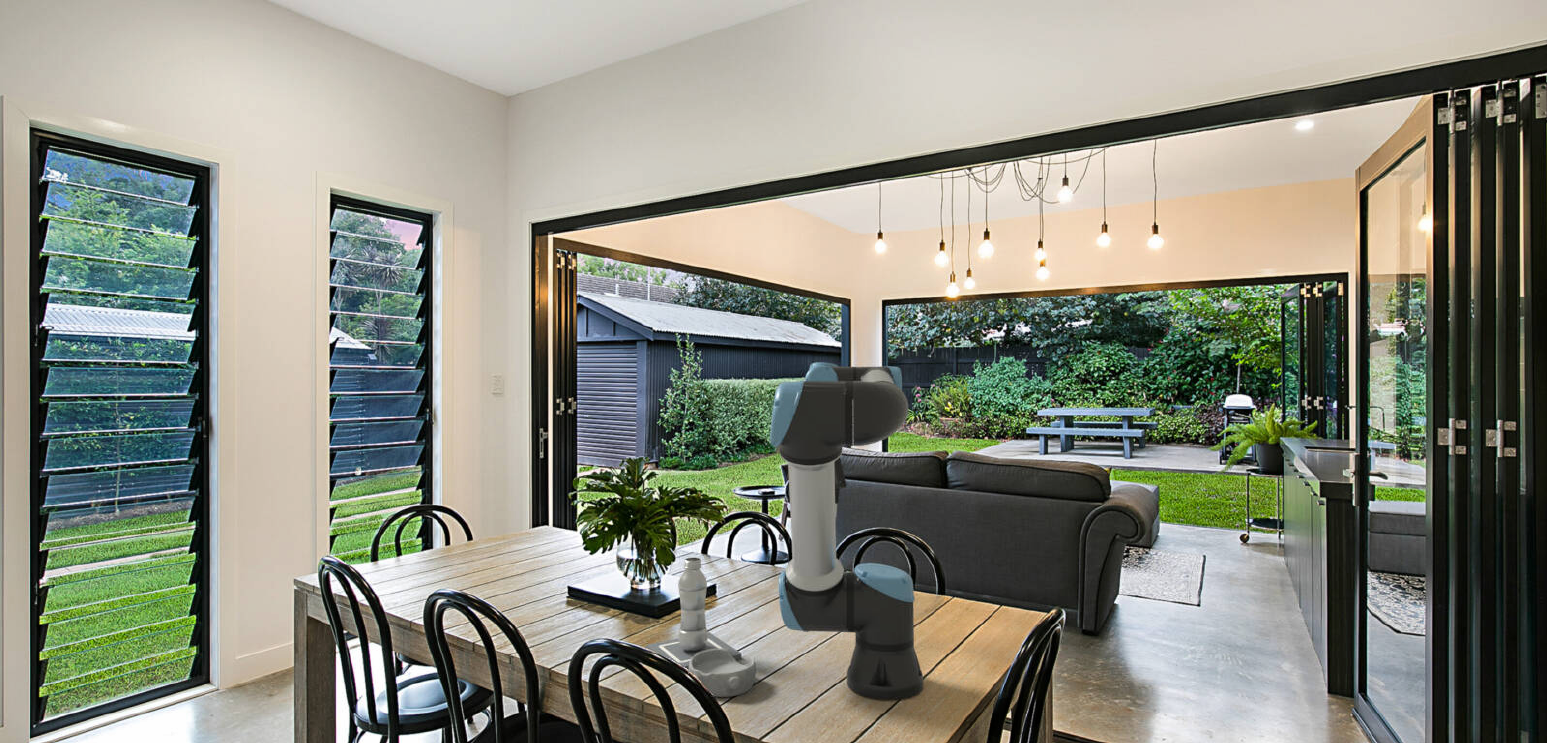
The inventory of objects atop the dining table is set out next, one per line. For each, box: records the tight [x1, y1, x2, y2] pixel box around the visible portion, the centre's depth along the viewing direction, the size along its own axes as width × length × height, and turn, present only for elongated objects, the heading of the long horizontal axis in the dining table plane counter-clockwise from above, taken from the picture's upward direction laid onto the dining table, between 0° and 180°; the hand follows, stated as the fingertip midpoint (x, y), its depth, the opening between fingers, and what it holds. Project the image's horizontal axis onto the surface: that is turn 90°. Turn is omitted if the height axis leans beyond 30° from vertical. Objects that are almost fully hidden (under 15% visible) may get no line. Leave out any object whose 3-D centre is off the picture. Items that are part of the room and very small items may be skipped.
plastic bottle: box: [677, 557, 708, 651], centre depth 164 cm, size 6×7×20 cm
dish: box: [688, 649, 757, 698], centre depth 147 cm, size 14×14×5 cm
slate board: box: [645, 631, 742, 670], centre depth 164 cm, size 16×16×1 cm
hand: (812, 514), depth 177 cm, fingers open, 13 cm apart
